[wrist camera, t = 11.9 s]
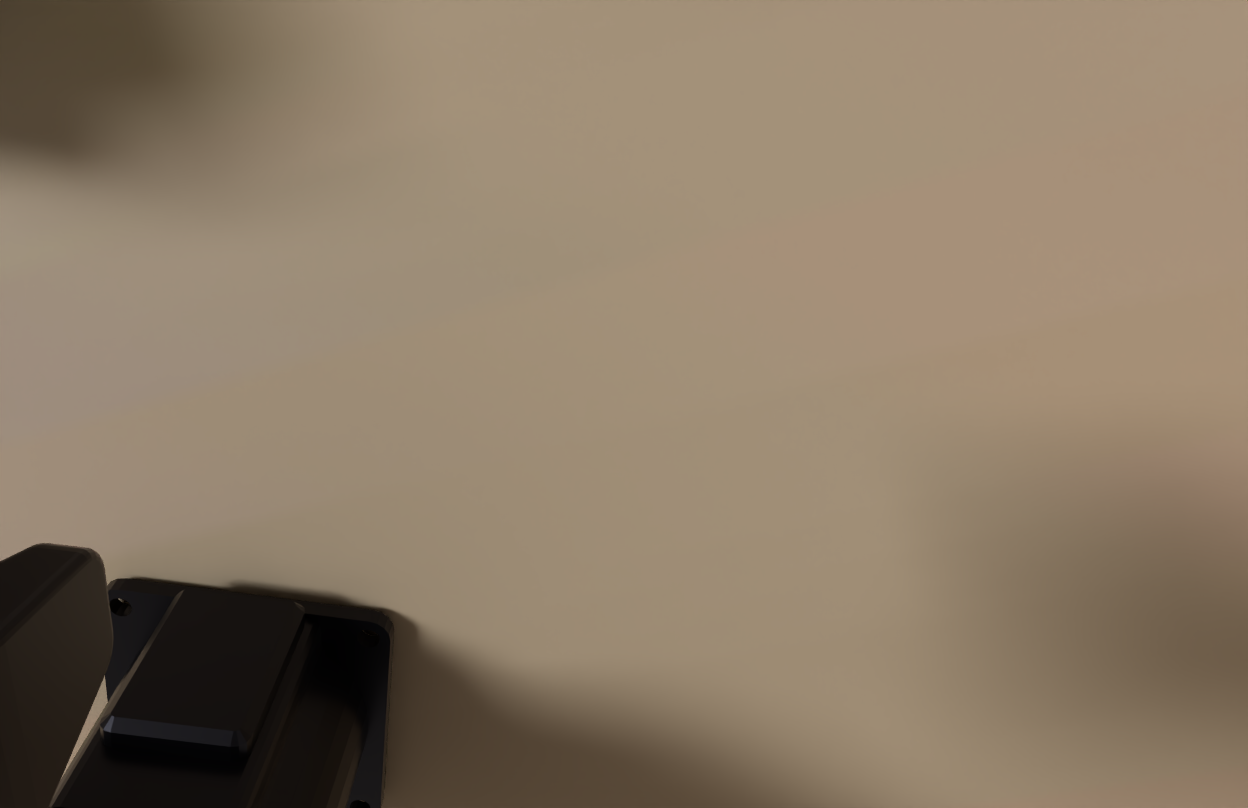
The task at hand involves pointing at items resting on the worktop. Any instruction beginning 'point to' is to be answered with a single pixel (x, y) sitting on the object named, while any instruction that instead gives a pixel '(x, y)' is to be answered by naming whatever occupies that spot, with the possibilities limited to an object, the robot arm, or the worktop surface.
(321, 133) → the worktop surface
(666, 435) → the worktop surface
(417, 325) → the worktop surface
